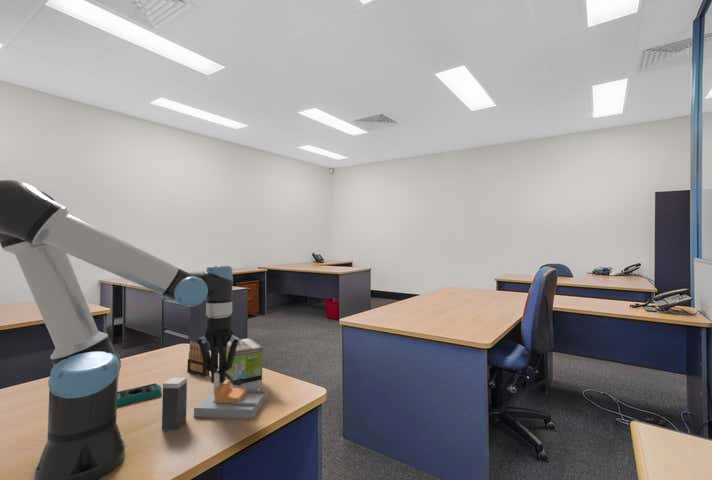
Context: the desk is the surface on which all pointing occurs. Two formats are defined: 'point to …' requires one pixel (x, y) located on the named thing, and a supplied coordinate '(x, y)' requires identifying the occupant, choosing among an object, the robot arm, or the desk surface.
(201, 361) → the ammunition clip
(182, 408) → the plug
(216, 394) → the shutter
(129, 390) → the digital multimeter
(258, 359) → the tea box
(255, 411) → the socket plate
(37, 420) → the desk surface
